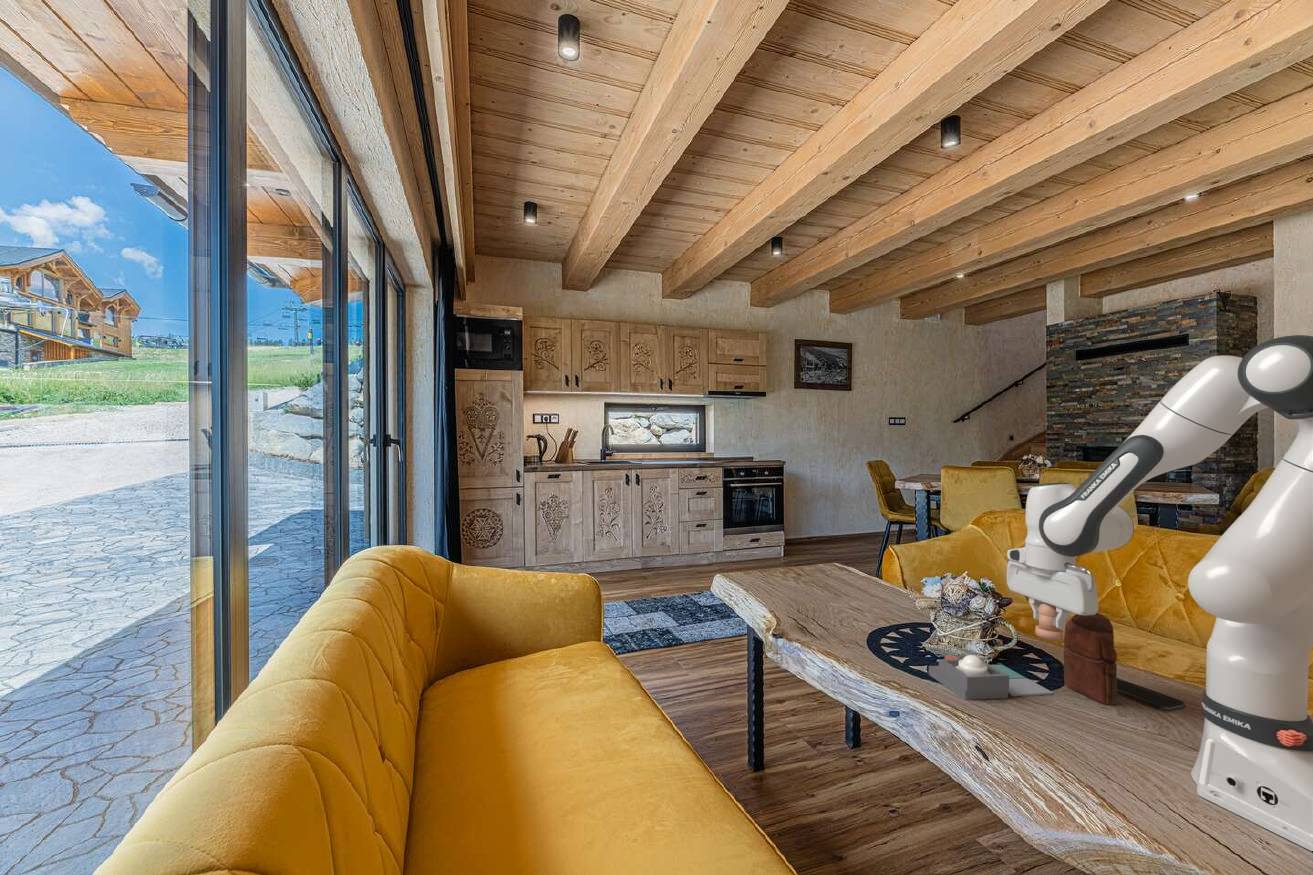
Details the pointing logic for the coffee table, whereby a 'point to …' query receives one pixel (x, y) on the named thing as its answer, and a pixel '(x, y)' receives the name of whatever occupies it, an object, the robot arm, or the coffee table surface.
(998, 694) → the dome base
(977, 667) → the dome
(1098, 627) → the brown leather bag
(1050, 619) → the pawn
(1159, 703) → the phone
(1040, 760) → the coffee table surface
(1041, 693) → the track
